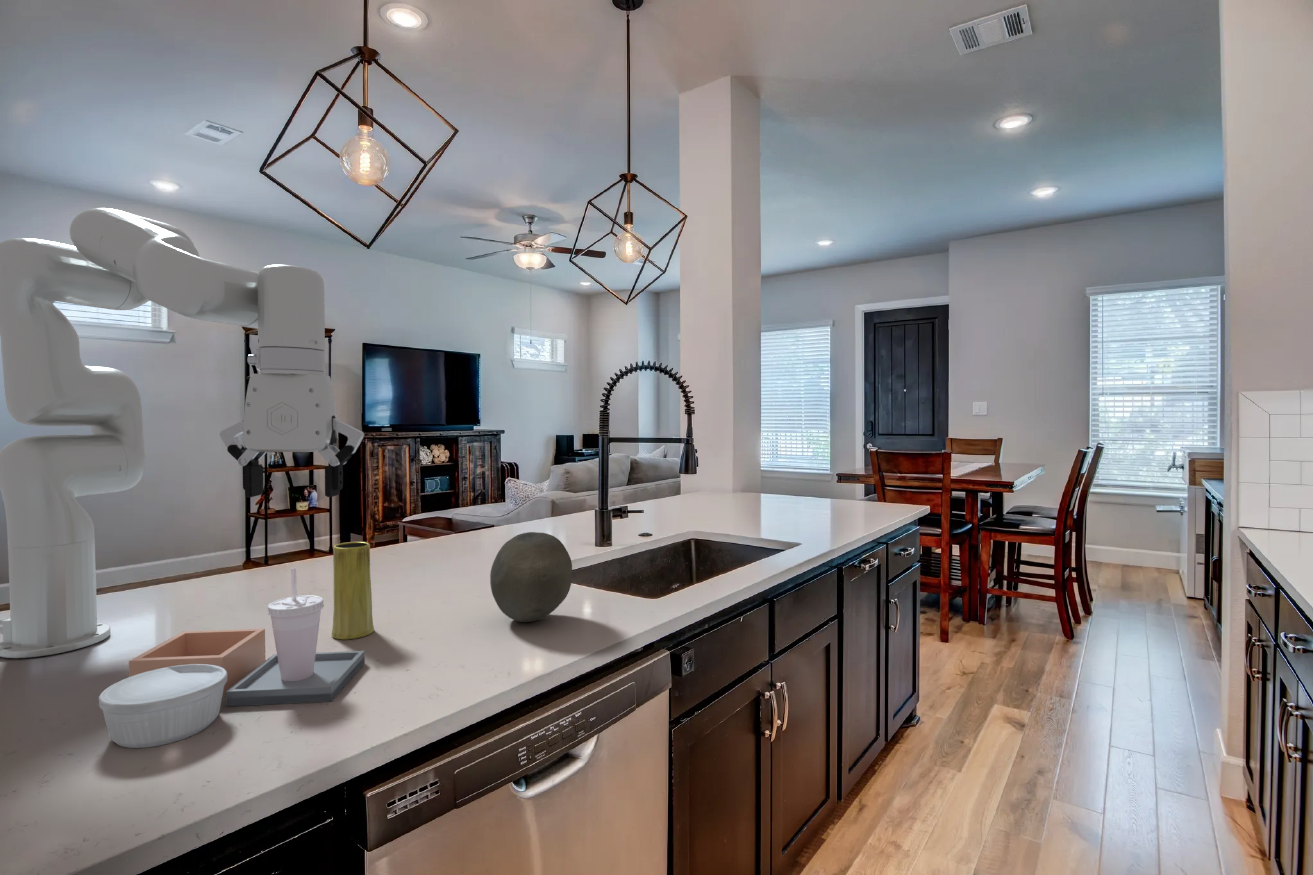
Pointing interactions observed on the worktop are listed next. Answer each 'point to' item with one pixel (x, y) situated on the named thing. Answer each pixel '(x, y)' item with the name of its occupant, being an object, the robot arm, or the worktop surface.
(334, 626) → the vase
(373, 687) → the worktop surface
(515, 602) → the dark grey ball
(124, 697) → the ramekin
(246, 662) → the holder
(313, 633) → the smoothie
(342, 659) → the tray
